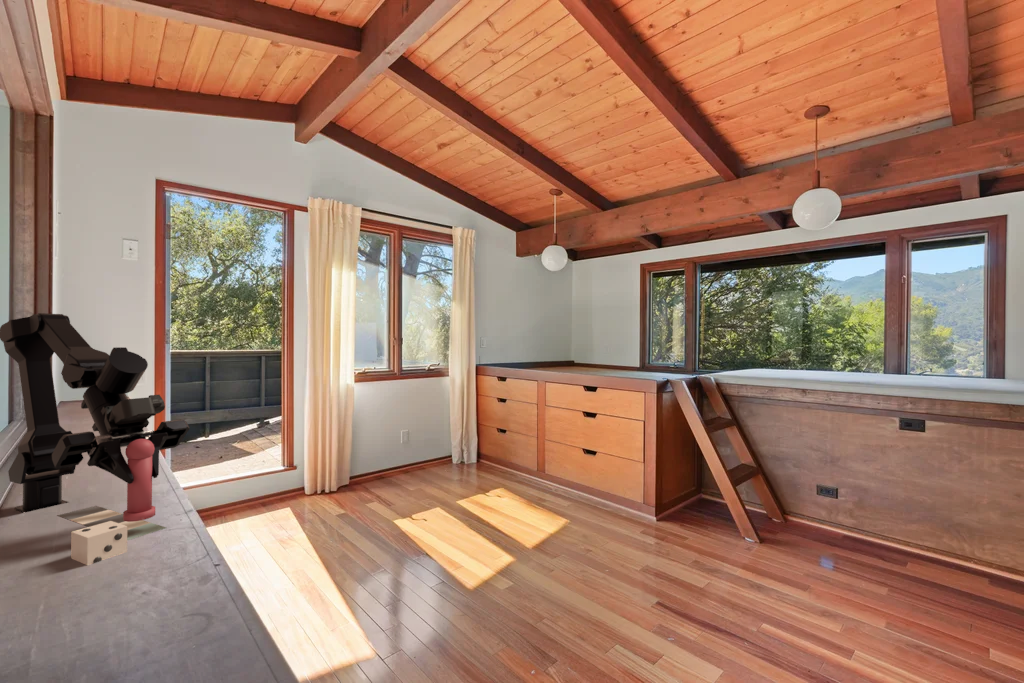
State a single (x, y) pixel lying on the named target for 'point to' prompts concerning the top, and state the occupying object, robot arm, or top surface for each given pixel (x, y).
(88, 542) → the die
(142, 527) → the board
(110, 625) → the top surface
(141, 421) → the robot arm
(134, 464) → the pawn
